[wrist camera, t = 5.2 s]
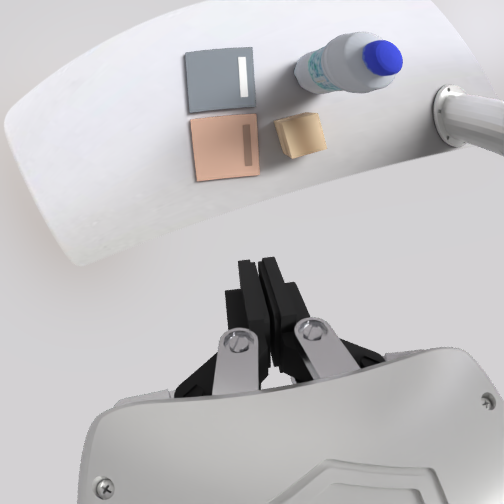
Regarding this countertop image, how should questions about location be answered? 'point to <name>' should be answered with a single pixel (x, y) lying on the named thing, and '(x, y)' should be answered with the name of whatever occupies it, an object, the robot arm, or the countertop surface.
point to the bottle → (350, 65)
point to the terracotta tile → (225, 146)
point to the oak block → (300, 134)
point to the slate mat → (220, 79)
